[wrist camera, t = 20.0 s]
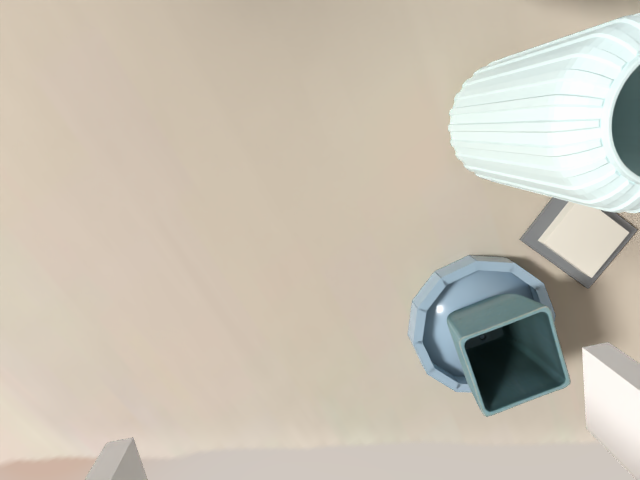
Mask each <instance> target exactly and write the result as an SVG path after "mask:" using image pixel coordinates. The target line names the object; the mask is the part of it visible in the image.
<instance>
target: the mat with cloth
mask: <svg viewBox="0 0 640 480" xmlns="http://www.w3.org/2000/svg"><path fill="white" fill-rule="evenodd" d="M636 231H637V229H635V228H634V227H633V226H632V225H630V224H629V223H628V222H626V221H625V220H624V219H622V218H621V217H620V216H619V215H617V214H616V213H615V212H608V211H603V210H600V209H596V208H592V207H588V206H584V205H580V204H577V203H573V202H569V201H565V200H561V199H557V198H554V197H553V198H552V199H551V200H550V201H549V203H548V204H547V205H546V207H545V208H544V209H543V210H542V212H541V213H540V214H539V215H538V217H537V218H536V219H535V221H534V222H533V223H532V224H531V226H530V227H529V228H528V230H527V231H526V232H525V233H524V235H523V236H522V237H521V238H520V240H521V241H522V242H524V243H525V244H526V245H528V246H529V247H531V248H532V249H533V250H535V251H536V252H538V253H539V254H540V255H542V256H543V257H545V258H546V259H547V260H549V261H550V262H552V263H553V264H554V265H556V266H557V267H558V268H560V269H561V270H563V271H564V272H565V273H567V274H568V275H570V276H571V277H572V278H574V279H575V280H577V281H578V282H579V283H581V284H582V285H584V286H585V287H586V288H588V289H589V288H590V286H591V285H592V284H593V283H594V282H595V280H596V279H597V278H598V277H599V276H600V274H601V273H602V272H603V271H604V270H605V268H606V267H607V266H608V265H609V264H610V262H611V261H612V260H613V259H614V258H615V256H616V255H617V254H618V253H619V252H620V250H621V249H622V248H623V247H624V246H625V244H626V243H627V242H628V241H629V240H630V238H631V237H632V236H633V235H634V234H635V232H636Z"/></svg>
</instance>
